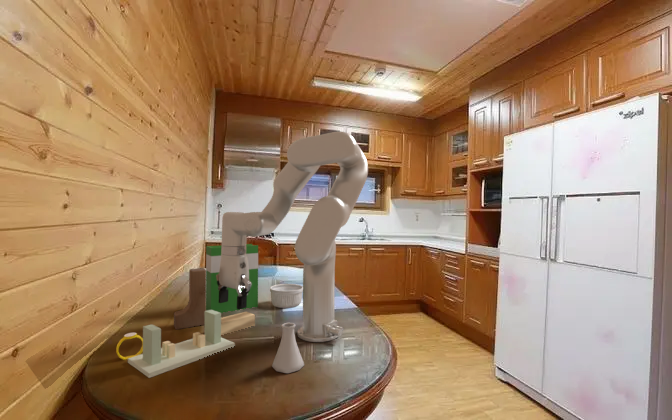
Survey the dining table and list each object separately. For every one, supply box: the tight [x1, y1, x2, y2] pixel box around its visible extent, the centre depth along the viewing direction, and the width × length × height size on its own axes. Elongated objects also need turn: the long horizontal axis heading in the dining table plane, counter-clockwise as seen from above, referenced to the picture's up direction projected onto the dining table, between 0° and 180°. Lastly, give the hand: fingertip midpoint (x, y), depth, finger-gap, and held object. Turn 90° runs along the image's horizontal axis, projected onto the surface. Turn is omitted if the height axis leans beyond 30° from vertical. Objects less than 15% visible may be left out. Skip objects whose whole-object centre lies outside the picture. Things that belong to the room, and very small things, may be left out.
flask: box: [271, 322, 305, 374], centre depth 79 cm, size 7×7×10 cm
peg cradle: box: [127, 310, 236, 379], centre depth 85 cm, size 12×22×9 cm, turn 142°
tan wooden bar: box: [221, 311, 256, 336], centre depth 104 cm, size 5×12×4 cm, turn 138°
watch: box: [115, 332, 143, 361], centre depth 83 cm, size 6×3×6 cm, turn 128°
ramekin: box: [269, 283, 303, 309], centre depth 133 cm, size 13×13×7 cm
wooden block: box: [173, 267, 207, 330], centre depth 107 cm, size 9×4×18 cm, turn 122°
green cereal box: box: [205, 243, 259, 314], centre depth 127 cm, size 18×7×24 cm, turn 124°
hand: (232, 305), depth 104 cm, fingers open, 9 cm apart
